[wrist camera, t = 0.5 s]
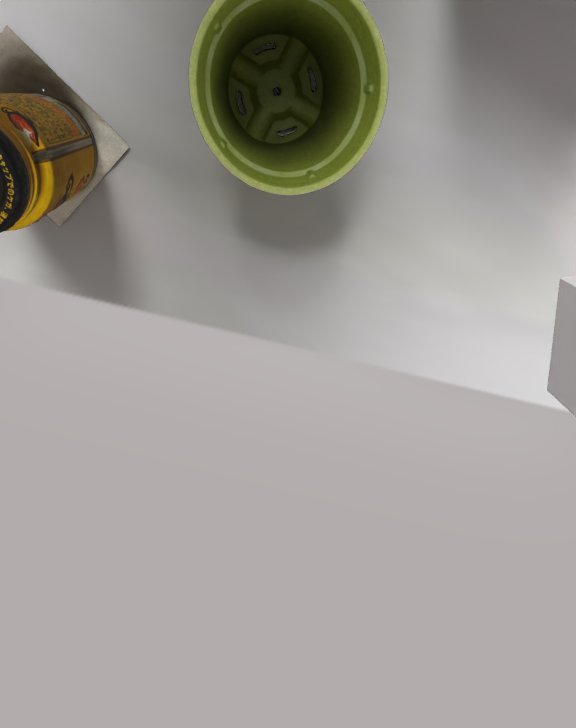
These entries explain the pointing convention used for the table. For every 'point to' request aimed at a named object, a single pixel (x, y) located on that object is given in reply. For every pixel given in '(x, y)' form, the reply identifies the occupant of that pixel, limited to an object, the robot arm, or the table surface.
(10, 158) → the condiment
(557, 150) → the table surface
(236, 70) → the plant pot
